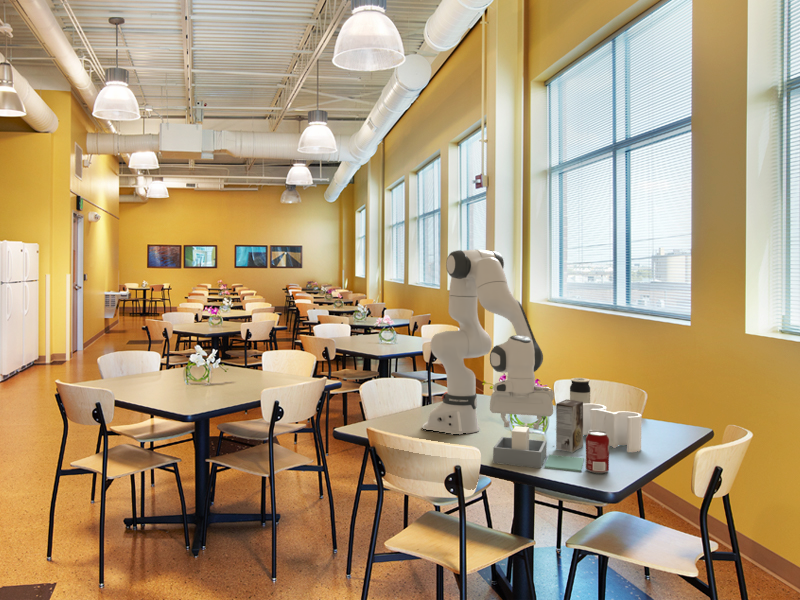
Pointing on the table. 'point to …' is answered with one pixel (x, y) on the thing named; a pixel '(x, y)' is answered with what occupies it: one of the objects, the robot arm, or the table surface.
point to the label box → (520, 438)
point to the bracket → (614, 425)
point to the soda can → (597, 452)
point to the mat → (564, 463)
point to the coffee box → (569, 425)
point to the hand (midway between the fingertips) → (521, 428)
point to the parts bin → (520, 453)
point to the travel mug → (580, 390)
